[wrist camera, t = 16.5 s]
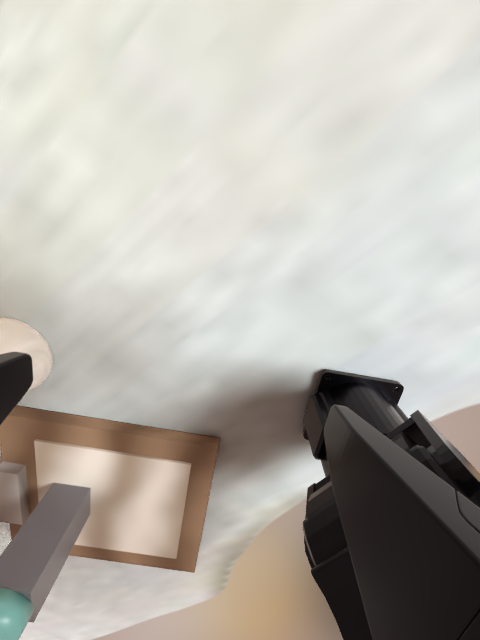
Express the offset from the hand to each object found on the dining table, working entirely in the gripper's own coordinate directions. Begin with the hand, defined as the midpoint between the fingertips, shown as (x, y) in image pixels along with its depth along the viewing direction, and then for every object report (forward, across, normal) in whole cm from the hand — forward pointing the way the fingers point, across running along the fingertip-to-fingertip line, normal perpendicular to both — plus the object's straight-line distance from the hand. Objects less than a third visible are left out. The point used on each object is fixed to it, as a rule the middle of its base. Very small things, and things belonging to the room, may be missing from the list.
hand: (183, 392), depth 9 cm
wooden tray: (+13, +7, +21) cm, 26 cm away
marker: (+12, +10, +21) cm, 26 cm away
